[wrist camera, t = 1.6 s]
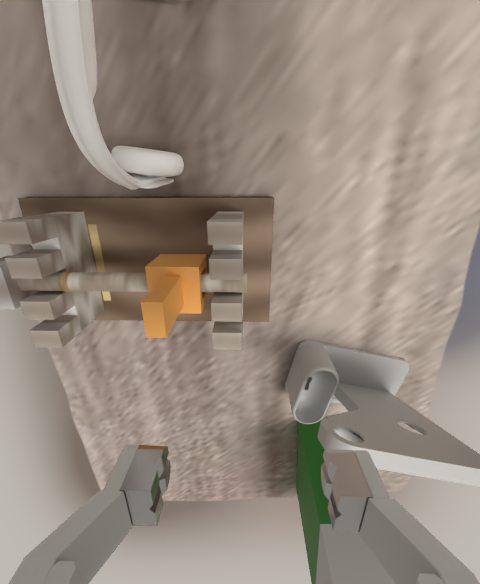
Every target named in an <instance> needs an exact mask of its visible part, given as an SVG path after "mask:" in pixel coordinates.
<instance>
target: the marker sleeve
mask: <svg viewBox="0 0 480 584" xmlns="http://www.w3.org/2000/svg"><path fill="white" fill-rule="evenodd" d="M145 270H146V278H147V285H148V292H149V293H148V295H147V296H146V297H145V298H144V299H143V300H142V301H141V308H142V314H143V321H144V327H145V334H146V338H167V336H168V334H169V332H170V330H171V328H172V326H173V325H174V323H175V321H176V319H177V317H178V315H179V313H188V314H202V311H203V308H204V305H205V302H206V300H207V297H208V292H202V284H201V273H207V264H206V254H160V255H159V256H158V257H156V258H155V259H154V260H153V261H151V262H150V263H149V264H148V265H147V266H145Z"/></svg>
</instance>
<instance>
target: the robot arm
mask: <svg viewBox="0 0 480 584" xmlns="http://www.w3.org/2000/svg"><path fill="white" fill-rule="evenodd" d="M168 453H169V452H168V447H167V446H147V445H126V446H125V447H124V449H123V450H122V452H121V454H120V457H119V459H118V461H117V463H116V465H115V467H114V469H113V471H112V473H111V476H110V478H109V480H108V482H107V484H106V486H105V488H104V490H103V491H98V492H97V493H96V494H95V495H94V496H93V497H92V498H90V499H89V500H88V501H87V502H86V503H85V504H84V505H83V506H82V507H80V508H79V509H78V510H77V511H76V512H75V513H74V514H72V515H71V516H70V517H69V518H68V519H67V520H66V521H65V522H64V523H63V524H61V525H60V526H59V527H58V528H57V529H56V530H55V531H53V532H52V533H51V534H50V535H49V536H48V537H47V538H46V539H45V540H44V541H42V542H41V543H40V544H39V545H38V546H37V547H36V548H35V549H33V550H32V551H31V552H30V553H29V554H28V555H27V556H26V557H25V558H24V559H23V561H22V563H21V564H20V566H19V567H18V569H17V571H16V572H15V574H14V576H13V577H12V579H11V581H10V583H9V584H88V583H89V582H90V581H91V580H92V578H93V577H94V576H95V575H96V573H97V572H98V571H99V569H100V568H101V567H102V566H103V564H104V563H105V561H106V560H107V559H108V558H109V557H110V556H111V554H112V553H113V552H114V550H115V549H116V548H117V547H118V545H119V544H120V543H121V542H122V540H123V539H124V538H125V536H126V535H127V534H128V533H129V531H130V530H131V529H132V526H157V525H158V521H159V517H160V513H161V510H162V506H163V500H162V495H163V494H164V493H165V492H166V491H167V487H168V483H169V478H170V461H169V460H168V459H167V456H168ZM323 458H324V463H323V464H322V466H321V482H322V488H323V492H324V495H325V496H326V497H327V498H328V500H329V504H328V512H329V516H330V520H331V524H332V528H333V531H337V532H353V533H359V535H360V537H361V538H362V539H363V541H364V542H365V543H366V545H367V546H368V547H369V549H370V550H371V551H372V553H373V554H374V555H375V557H376V558H377V559H378V561H379V562H380V564H381V565H382V566H383V568H384V569H385V570H386V572H387V573H388V574H389V576H390V577H391V578H392V580H393V581H394V582H395V584H479V582H478V580H477V579H476V577H475V575H474V574H473V573H472V572H471V571H470V570H469V569H468V568H467V567H466V566H465V565H464V564H463V563H462V562H461V561H459V559H457V558H456V557H455V556H454V555H453V554H452V553H451V552H450V551H449V550H448V549H447V548H446V547H445V546H444V545H443V544H442V543H441V542H439V541H438V540H437V539H436V538H435V537H434V536H433V535H432V534H431V533H430V532H429V531H428V530H427V529H426V528H425V527H424V526H422V525H421V524H420V523H419V522H418V521H417V520H416V519H415V518H414V517H413V516H412V515H411V514H410V513H409V512H408V511H406V509H405V508H403V507H402V506H401V505H400V504H399V503H398V502H397V501H396V500H395V499H390V497H389V495H388V493H387V491H386V489H385V486H384V484H383V482H382V480H381V478H380V476H379V473H378V471H377V469H376V467H375V465H374V462H373V460H372V458H371V456H370V454H369V452H368V451H366V450H325V451H324V453H323Z"/></svg>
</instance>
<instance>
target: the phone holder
mask: <svg viewBox="0 0 480 584" xmlns="http://www.w3.org/2000/svg"><path fill="white" fill-rule="evenodd" d="M409 369H410V365H409V363H408V362H407V361H406V360H405V359H403V358H398V357H393V356H388V355H383V354H378V353H373V352H368V351H363V350H358V349H353V348H348V347H343V346H338V345H333V344H328V343H323V342H318V341H313V340H304V341H302V342H301V343H300V344H299V345H298V348H297V351H296V354H295V357H294V359H293V362H292V365H291V368H290V371H289V374H288V377H287V380H286V383H285V389H286V391H287V393H289V398H290V404H291V409H292V414H293V416H294V418H295V419H296V420H297V421H298V422H300V423H303V424H313V423H316V422H319V421H320V420H321V423H320V427H319V432H318V440H319V441H320V443H321V445H322V446H323V448H324V449H325V450H366V451H368V452H369V454H370V456H371V458H372V460H373V462H374V465H375V467H376V469H382V470H387V471H393V472H398V473H404V474H410V475H416V476H422V477H427V478H432V479H438V480H444V481H450V482H456V483H461V484H466V485H473V486H478V487H480V454H478V453H477V452H475V451H474V450H473V449H471V448H470V447H468V446H467V445H465V444H464V443H462V442H461V441H460V440H458V439H457V438H455V437H454V436H452V435H451V434H449V433H448V432H446V431H445V430H443V429H442V428H441V427H439V426H438V425H436V424H435V423H433V422H432V421H431V420H429V419H428V418H426V417H425V416H423V415H422V414H420V413H419V412H417V411H416V410H415V409H413V408H412V407H410V406H409V405H407V404H406V403H404V402H403V401H401V400H400V399H399V398H397V397H396V396H395V395H396V393H397V391H398V389H399V387H400V386H401V384H402V382H403V380H404V378H405V376H406V375H407V373H408V371H409ZM330 402H333V403H338V404H343V405H344V406H345V408H346V409H347V410H348V411H349V412H345V413H341V414H337V415H333V416H330V417H326V418H323V417H324V415H325V413H326V411H327V409H328V407H329V404H330ZM322 418H323V419H322ZM397 422H403V423H406V424H407V425H409V426H410V427H411V428H413V429H415V430H417V431H419V432H420V433H422V434H423V435H421V434H417V433H414V432H411V431H409V430H407V429H405V428H403V427H401V426H400V425H399V424H397Z"/></svg>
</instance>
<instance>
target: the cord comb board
mask: <svg viewBox="0 0 480 584" xmlns="http://www.w3.org/2000/svg"><path fill="white" fill-rule="evenodd" d="M18 200H19V204H20V207H21V211H22V214H23V217H20V218H13V219H6V220H0V244H31V246H32V250H29V251H26V252H23V253H20V254H16V255H13V256H6V257H2V258H0V309H16V308H18V307H20V306H21V308H22V311H23V313H24V316H25V319H35V320H44V321H43V322H41V323H40V324H38V325H37V326H35V327H34V328H32V329H31V330H29V331H30V334H31V337H32V340H33V343H34V346H35V347H64V346H65V345H66V344H67V343H68V342H69V341H70V340H71V339H73V338H74V337H75V336H76V335H77V334H78V333H79V332H80V331H82V330H83V329H84V328H85V327H86V326H87V325H88V324H90V323H91V322H92V321H93V320H143V314H142V308H141V301H142V300H143V299H144V298H145V297H146V296H147V295H148V293H149V292H148V285H147V278H146V270H145V266H147V265H148V264H149V263H150V262H151V261H153V260H154V259H155V258H156V257H158V256H159V255H160V254H206V264H207V273H201V284H202V292H208V297H207V300H206V302H205V305H204V308H203V311H202V314H188V313H179V315H178V317H177V319H176V321H215V323H214V328H213V332H212V337H213V349H222V350H242V331H243V321H253V322H269V304H270V280H271V257H272V233H273V209H274V198H273V197H160V198H18Z"/></svg>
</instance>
